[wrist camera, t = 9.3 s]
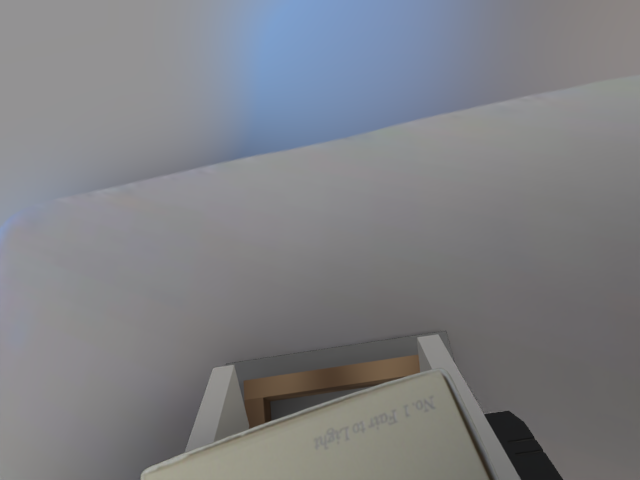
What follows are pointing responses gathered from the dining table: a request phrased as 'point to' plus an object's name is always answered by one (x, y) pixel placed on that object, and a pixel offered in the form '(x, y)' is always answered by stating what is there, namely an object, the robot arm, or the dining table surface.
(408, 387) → the skincare box
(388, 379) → the walnut collar
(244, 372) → the slate tray
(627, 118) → the dining table surface
